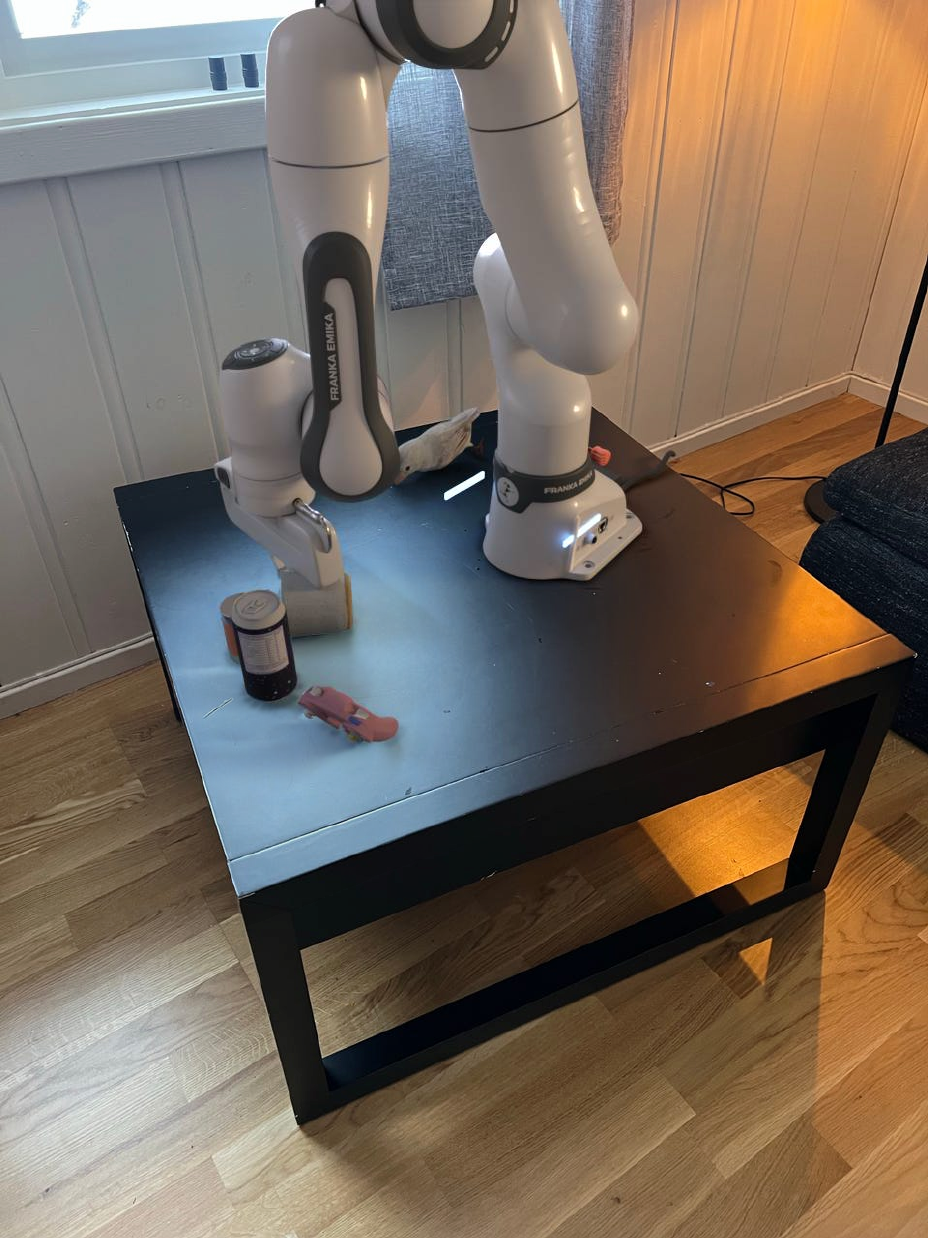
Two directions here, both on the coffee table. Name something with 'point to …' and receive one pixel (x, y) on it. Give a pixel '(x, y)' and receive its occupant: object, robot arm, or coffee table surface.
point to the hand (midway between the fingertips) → (289, 581)
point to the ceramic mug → (316, 605)
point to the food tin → (229, 626)
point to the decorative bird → (437, 445)
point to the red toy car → (347, 715)
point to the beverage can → (264, 645)
